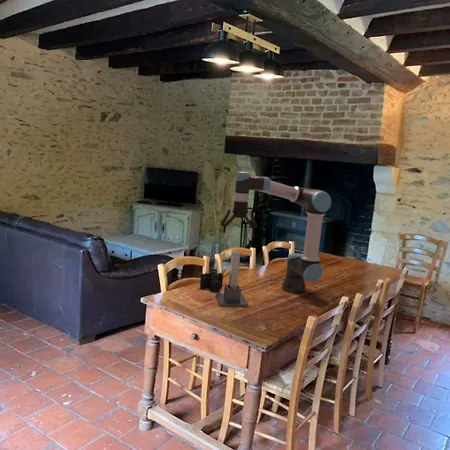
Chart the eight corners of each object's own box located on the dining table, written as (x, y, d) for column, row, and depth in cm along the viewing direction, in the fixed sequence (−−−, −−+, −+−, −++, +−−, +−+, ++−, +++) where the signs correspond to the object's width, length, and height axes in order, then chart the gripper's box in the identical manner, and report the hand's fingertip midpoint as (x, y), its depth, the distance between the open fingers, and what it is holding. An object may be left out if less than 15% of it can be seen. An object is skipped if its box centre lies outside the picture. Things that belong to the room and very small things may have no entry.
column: (235, 286, 237) (238, 250, 233) (237, 290, 231) (240, 253, 227) (228, 286, 236) (231, 250, 232) (230, 290, 230) (233, 253, 227)
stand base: (242, 296, 244) (244, 281, 242) (248, 307, 228) (250, 290, 227) (215, 295, 241) (217, 280, 240) (219, 306, 226) (220, 289, 224)
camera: (203, 292, 245) (204, 276, 243) (198, 286, 255) (200, 271, 253) (225, 292, 249) (227, 276, 248) (220, 286, 259) (222, 270, 258)
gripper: (262, 201, 231) (258, 238, 234) (217, 198, 227) (214, 236, 230) (265, 203, 223) (261, 241, 227) (219, 200, 219) (216, 239, 223)
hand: (237, 239), depth 229 cm, fingers open, 13 cm apart
